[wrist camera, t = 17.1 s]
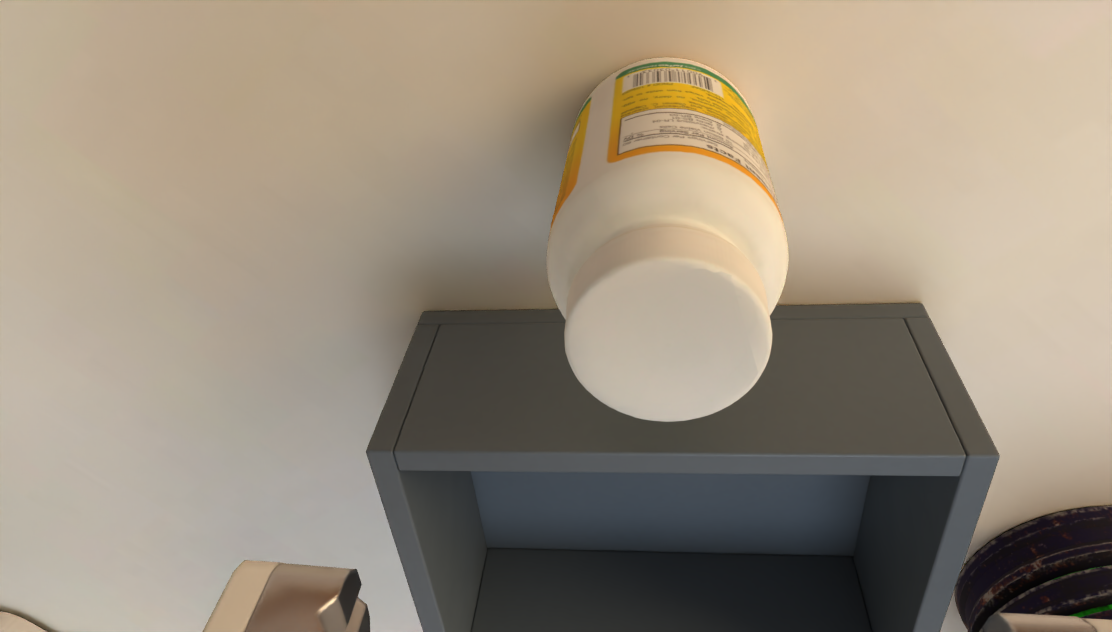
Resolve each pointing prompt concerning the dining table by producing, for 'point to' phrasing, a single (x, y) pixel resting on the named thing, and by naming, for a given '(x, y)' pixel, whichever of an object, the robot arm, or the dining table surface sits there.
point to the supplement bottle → (666, 243)
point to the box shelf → (683, 483)
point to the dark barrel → (1042, 570)
